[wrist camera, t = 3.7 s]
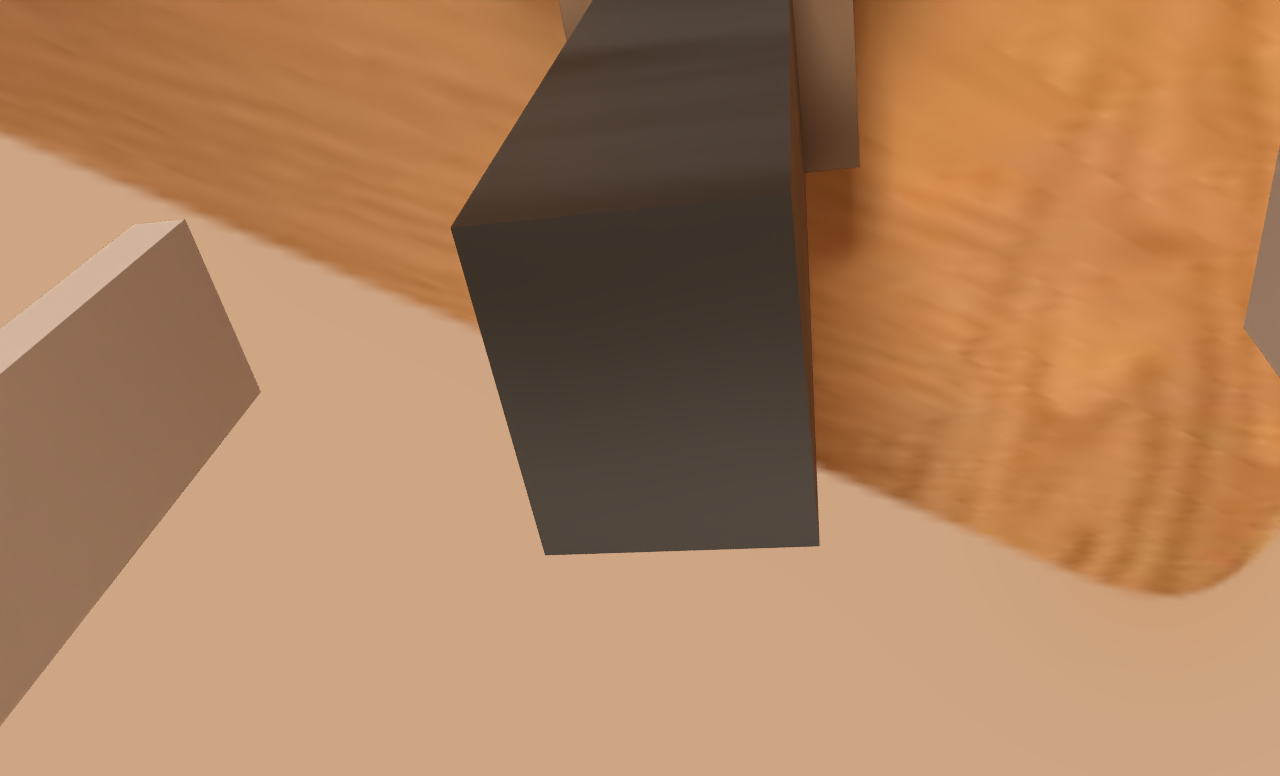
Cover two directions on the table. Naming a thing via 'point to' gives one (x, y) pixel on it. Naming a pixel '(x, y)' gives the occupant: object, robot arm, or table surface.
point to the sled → (664, 271)
